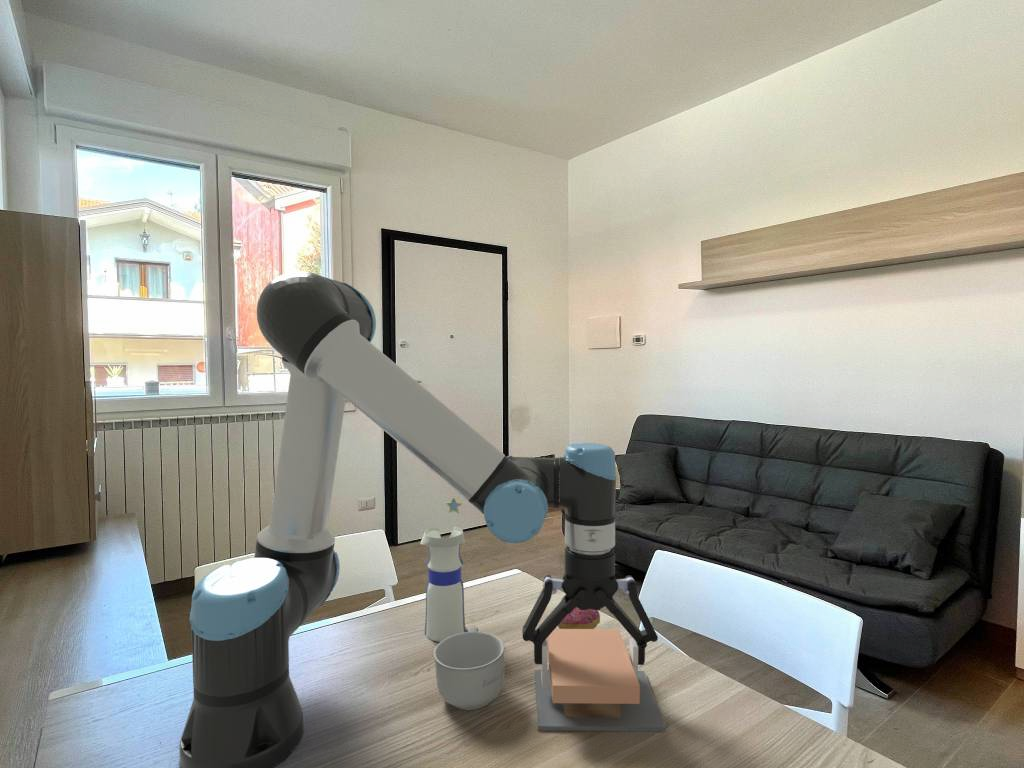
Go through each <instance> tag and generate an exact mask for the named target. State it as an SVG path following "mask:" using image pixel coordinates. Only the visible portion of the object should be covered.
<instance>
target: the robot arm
mask: <svg viewBox="0 0 1024 768" xmlns="http://www.w3.org/2000/svg"><path fill="white" fill-rule="evenodd" d="M376 319H377V318H376V314H375V311H374V308H373V306H372V304H371V302H370V301H369V299H368V298H367V297H366V295H364V294H363V293H362V292H361V291H359V290H358V289H357V288H355V287H354V286H352V285H350V284H348V283H346V282H341V281H339V280H335V279H331V278H328V277H325V276H322V275H320V274H316V273H315V272H310V271H303V270H301V271H297V270H296V271H289V272H287V273H284V274H281V275H279V276H278V275H277V277H275V278H274V279H273V280H272V281H270V282H269V283H267V285H266V286H265V287H264V288H263V290H262V292H261V294H260V295H259V298H258V301H257V306H256V320H257V324H258V327H259V328H258V329H259V330H260V332H261V334H262V336H263V337H264V339H265V340H266V342H267V343H268V344H269V345H270V346H271V348H273V349H274V350H275V351H276V352H277V353H279V355H281V357H282V358H281V363H282V365H283V366H284V367H285V368H286V370H288V372H289V375H290V377H289V383H288V389H287V390H288V391H287V398H286V404H285V411H284V412H285V413H284V419H283V426H282V434H281V441H280V448H279V455H278V461H277V462H278V464H277V470H276V475H275V476H276V477H275V484H274V491H273V498H272V504H271V505H272V506H271V514H270V519H269V524H268V525H267V526H265V527H264V528H263V529H262V530H260V531H259V532H258V534H257V537H256V544H255V552H254V556H253V557H250V558H244V559H239V560H236V561H233V563H231V564H224V565H222V566H219V567H218V568H215V569H213V570H211V571H210V572H209V573H207V574H206V575H205V576H204V577H203V578H201V580H200V581H198V583H197V585H196V586H195V588H194V590H193V592H192V595H191V607H190V612H189V622H190V628H191V652H192V653H191V654H192V655H191V656H192V657H191V658H192V678H193V679H192V682H193V683H192V684H193V699H192V703H191V705H190V706H191V707H190V710H189V712H188V715H187V719H186V722H185V726H184V728H183V731H182V735H181V736H180V737H181V738H180V740H179V766H180V768H273V767H275V766H276V765H278V764H279V763H280V762H282V761H283V760H285V759H286V758H287V757H288V756H289V755H290V754H291V753H293V751H294V750H295V749H296V747H297V746H298V745H299V743H300V742H301V739H302V738H303V735H304V729H305V728H304V722H305V721H304V720H305V719H304V710H303V706H302V704H301V702H300V700H299V697H298V694H297V692H296V689H295V687H294V683H293V682H292V680H291V677H290V650H289V645H290V643H289V641H290V637H291V636H292V635H293V634H294V633H295V632H296V631H297V630H298V629H299V627H301V625H302V624H304V622H306V621H307V620H308V619H309V617H310V616H311V615H313V613H314V612H315V611H317V610H318V608H320V607H321V606H322V605H323V604H324V603H326V601H327V600H328V599H329V598H330V596H331V593H332V592H333V591H334V589H335V587H336V585H337V583H338V580H339V576H340V571H341V570H340V567H341V566H340V559H339V556H338V553H337V552H336V551H335V542H336V536H335V534H334V533H333V532H332V531H331V530H330V529H329V528H328V525H329V524H328V523H329V515H330V508H331V502H332V496H333V495H332V494H333V488H334V482H335V474H336V468H337V461H338V453H339V448H340V440H341V436H342V428H343V421H344V414H345V407H346V400H347V401H348V402H349V403H350V404H352V405H353V406H354V407H355V408H357V410H359V411H360V412H361V413H362V414H363V415H365V416H366V417H367V418H369V419H370V420H371V421H372V422H373V423H375V425H377V426H378V427H379V428H380V429H382V430H383V431H384V432H385V433H386V434H388V435H389V436H390V437H391V438H393V440H395V441H396V442H397V443H398V444H399V445H400V446H402V447H403V448H404V449H406V451H408V452H409V453H410V454H412V456H414V457H415V458H417V460H419V461H420V463H423V464H424V466H426V467H427V468H428V469H430V471H432V472H433V473H434V474H435V475H437V476H438V478H440V479H441V480H442V481H444V482H445V483H446V484H447V485H449V487H451V488H452V489H453V490H454V491H456V493H458V494H459V495H461V497H463V498H464V499H465V500H467V502H469V503H470V504H471V505H473V507H475V509H477V510H478V511H479V512H480V513H481V514H483V517H484V521H485V524H486V526H487V529H488V530H489V531H490V533H491V534H492V535H493V537H495V538H496V539H498V540H500V541H501V542H504V543H507V544H522V543H526V542H527V541H530V540H532V539H534V537H536V536H537V535H538V534H539V533H540V531H541V529H542V528H543V525H544V522H545V519H546V518H547V515H548V512H549V509H561V508H562V509H564V510H565V511H564V543H565V545H566V547H565V548H564V574H563V577H562V578H552V576H551V575H550V574H546V575H545V576H544V578H543V584H542V590H541V591H540V594H539V596H538V597H537V600H536V601H535V603H534V605H533V607H532V609H531V611H530V612H529V615H528V617H527V619H526V621H525V623H524V625H523V627H522V640H523V641H524V642H531V643H533V658H534V659H533V660H534V664H535V665H541V669H540V670H541V680H542V689H547V670H548V650H547V637H548V636H549V635H550V634H551V633H552V632H553V630H554V629H557V628H558V625H559V624H560V622H561V621H562V620H563V619H564V618H565V617H566V616H567V615H568V614H570V613H571V612H572V611H573V610H574V608H575V607H577V608H579V609H580V610H587V609H593V610H598V611H601V610H602V609H603V608H606V609H607V610H608V612H609V613H610V614H612V615H613V617H615V619H616V620H617V621H618V623H619V624H620V625H622V627H623V628H624V629H625V631H627V633H628V634H629V635H630V637H629V653H628V655H629V658H630V661H631V663H632V666H633V669H634V672H635V674H636V677H637V680H638V671H639V666H644V665H645V662H646V648H647V647H648V643H649V642H651V643H655V642H657V641H658V638H659V637H658V635H657V633H656V631H655V628H654V627H653V625H652V622H651V621H650V618H649V617H648V615H647V612H646V610H645V609H644V606H643V604H642V602H641V600H640V598H639V596H638V590H637V587H638V586H637V582H636V581H635V579H634V578H633V576H632V575H630V574H629V575H626V576H625V578H620V579H616V575H615V574H616V551H615V549H614V547H615V546H616V496H617V495H616V494H617V474H616V473H617V472H616V470H617V469H616V453H615V451H614V449H613V448H612V447H610V446H609V445H607V444H603V443H602V444H601V443H595V442H582V443H576V442H575V443H571V444H569V445H567V446H566V448H565V453H564V454H563V455H564V456H560V457H533V456H532V457H527V456H525V457H524V456H513V455H507V456H506V455H505V454H504V453H503V452H501V450H500V449H498V448H497V447H496V446H495V445H493V444H492V443H491V442H490V441H489V440H487V439H486V438H485V437H484V436H483V435H481V434H480V433H479V432H478V431H477V430H476V429H474V428H473V427H472V426H470V424H468V423H467V422H466V421H465V420H464V419H462V417H460V416H459V415H458V414H456V412H454V411H453V410H452V409H450V408H449V407H448V406H447V405H446V404H444V403H443V402H442V401H441V400H440V399H439V398H437V397H436V396H435V395H434V394H432V392H430V391H429V390H427V389H426V388H425V387H424V386H423V385H421V384H420V383H419V382H418V381H417V380H415V379H414V377H412V376H411V375H409V373H408V372H406V371H405V370H404V369H402V368H401V367H400V366H399V365H398V364H397V363H395V362H394V361H393V360H392V359H391V358H390V357H388V356H387V355H386V354H384V353H383V352H382V351H381V350H380V349H379V348H377V347H376V346H375V345H374V344H373V343H372V341H373V338H374V336H375V333H376V326H377V320H376ZM559 589H562V591H563V593H565V594H564V596H563V597H562V598H561V601H560V602H559V603H558V604H557V605H556V606H555V607H554V609H553V610H552V611H551V612H550V613H549V614H548V615H547V617H546V618H545V619H544V620H543V622H541V624H540V625H539V626H538V624H539V623H540V621H541V619H542V617H543V615H544V613H545V612H546V609H547V607H548V605H549V603H550V602H551V599H552V595H555V594H556V593H557V592H558V590H559ZM618 589H620V590H621V591H622V592H623V593H622V594H624V595H628V597H629V599H630V601H631V604H632V606H633V608H634V610H635V612H636V614H637V616H638V618H639V620H640V622H641V624H642V626H643V628H644V629H642V630H641V629H640V628H639V627H638V626H637V625H636V624H635V623H634V621H633V620H632V619H631V617H629V615H628V614H627V613H626V612H625V610H623V608H622V607H621V606H620V605H619V604H618V602H617V601H616V599H615V598H614V597H613V596H614V595H615V594H616V593H617V591H618ZM537 626H538V627H537Z"/></svg>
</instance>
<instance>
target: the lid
mask: <svg viewBox="0 0 1024 768" xmlns="http://www.w3.org/2000/svg"><path fill="white" fill-rule="evenodd" d="M546 639H547V661H548V670H549V671H550V681H551V691H552V701H553V703H599V704H640V685H639V682H638V680H637V677H636V674H635V672H634V669H633V666H632V663H631V661H630V658H629V653H628V650H627V648H626V644H625V642H624V640H623V636H622V634H621V631H620V629H619V628H612V629H611V628H610V629H609V628H601V629H600V628H594V629H559V628H555V629H554V630H553V632H552V633H551V634H550V635H549V636H548V637H547V638H546Z"/></svg>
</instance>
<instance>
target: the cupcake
mask: <svg viewBox="0 0 1024 768" xmlns="http://www.w3.org/2000/svg"><path fill="white" fill-rule="evenodd" d="M600 623H601V614H600V612H599V610H593V609H587V610H580V609H579V608H577V607H575V608H574V610H573V611H572V612H571V613H570V614H568V615H567V616H566V617H565V618H564V619H563V620H562V621H561V622H560V624H559V625H558V626H557V628H558V629H596V628H597V626H598V625H599V624H600Z"/></svg>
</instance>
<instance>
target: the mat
mask: <svg viewBox="0 0 1024 768" xmlns="http://www.w3.org/2000/svg"><path fill="white" fill-rule="evenodd" d="M534 679H535V681H534V682H535V701H536V720H537V723H536V724H537V731H568V732H569V731H572V732H574V731H575V732H577V731H578V732H579V731H580V732H582V731H583V732H584V731H586V732H587V731H588V732H593V731H594V732H611V731H612V732H667V725H666V723H665V720H664V717H663V716H662V713H661V711H660V707H659V705H658V703H657V700H656V698H655V696H654V692H653V690H652V687H651V684H650V682H649V680H648V678H647V675H646V672H645V670H638V682H639V685H640V704H621V718H601V717H565V712H564V704H563V703H553V701H552V691H551V681H550V671H549V669H547V689H542V680H541V669H534Z"/></svg>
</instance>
